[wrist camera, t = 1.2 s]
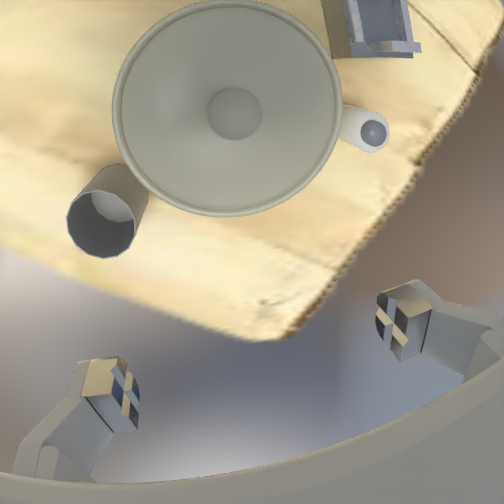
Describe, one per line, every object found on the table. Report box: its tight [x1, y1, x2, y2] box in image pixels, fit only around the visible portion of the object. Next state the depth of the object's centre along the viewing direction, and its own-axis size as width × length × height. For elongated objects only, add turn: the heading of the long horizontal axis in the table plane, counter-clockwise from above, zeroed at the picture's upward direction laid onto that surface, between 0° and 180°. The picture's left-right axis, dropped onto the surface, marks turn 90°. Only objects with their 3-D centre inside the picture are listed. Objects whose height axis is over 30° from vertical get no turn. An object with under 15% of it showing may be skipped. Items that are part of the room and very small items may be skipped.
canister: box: [112, 0, 343, 217], centre depth 27 cm, size 18×18×21 cm
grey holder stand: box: [321, 0, 421, 59], centre depth 26 cm, size 14×9×11 cm, turn 10°
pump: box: [338, 104, 389, 153], centre depth 36 cm, size 5×5×9 cm
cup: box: [66, 164, 148, 259], centre depth 36 cm, size 8×8×10 cm
